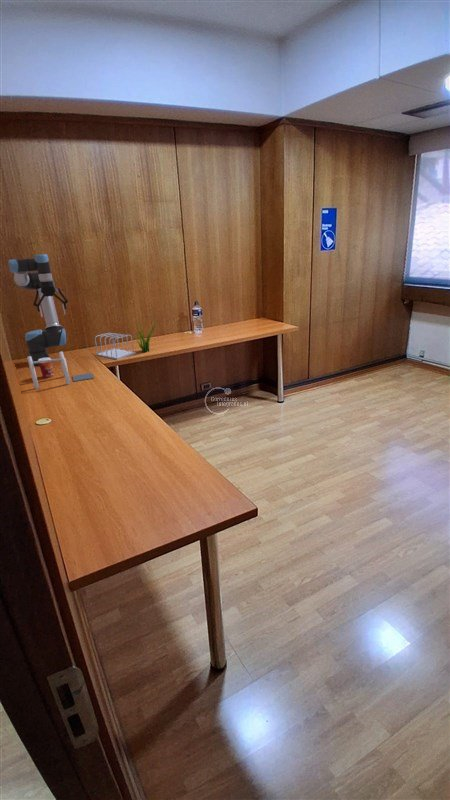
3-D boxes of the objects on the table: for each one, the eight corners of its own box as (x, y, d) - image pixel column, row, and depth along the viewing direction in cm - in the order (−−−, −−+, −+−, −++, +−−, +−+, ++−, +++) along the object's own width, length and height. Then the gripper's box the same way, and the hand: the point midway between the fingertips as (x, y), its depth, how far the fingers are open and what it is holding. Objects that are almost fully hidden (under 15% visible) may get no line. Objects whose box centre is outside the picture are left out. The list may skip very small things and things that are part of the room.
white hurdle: (33, 381, 247) (27, 356, 242) (69, 375, 255) (64, 351, 249) (31, 390, 230) (25, 364, 224) (70, 384, 237) (65, 358, 231)
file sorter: (96, 356, 299) (92, 335, 294) (114, 351, 312) (111, 331, 306) (117, 360, 285) (113, 338, 279) (135, 354, 297) (132, 334, 292)
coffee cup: (50, 383, 251) (45, 360, 245) (40, 383, 253) (34, 360, 248) (59, 379, 258) (54, 357, 253) (49, 378, 261) (43, 356, 255)
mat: (72, 376, 251) (72, 375, 251) (92, 373, 255) (92, 372, 255) (73, 381, 241) (73, 380, 241) (94, 378, 245) (93, 377, 245)
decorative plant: (155, 320, 285) (135, 315, 282) (148, 355, 302) (129, 350, 299) (158, 310, 300) (139, 305, 297) (151, 344, 316) (132, 339, 313)
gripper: (23, 283, 237) (32, 318, 244) (67, 279, 245) (74, 314, 253) (24, 282, 243) (32, 317, 251) (67, 278, 252) (74, 312, 259)
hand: (53, 315), depth 252 cm, fingers open, 13 cm apart
